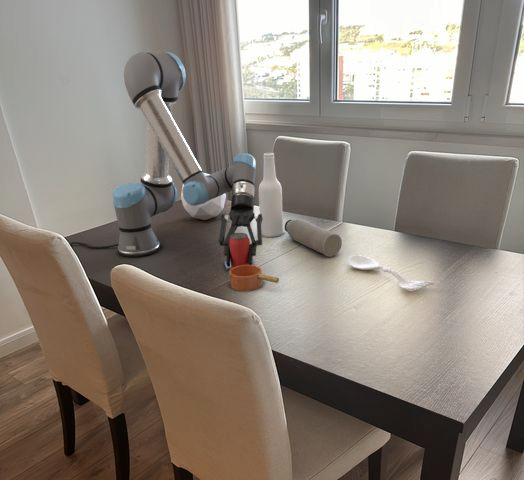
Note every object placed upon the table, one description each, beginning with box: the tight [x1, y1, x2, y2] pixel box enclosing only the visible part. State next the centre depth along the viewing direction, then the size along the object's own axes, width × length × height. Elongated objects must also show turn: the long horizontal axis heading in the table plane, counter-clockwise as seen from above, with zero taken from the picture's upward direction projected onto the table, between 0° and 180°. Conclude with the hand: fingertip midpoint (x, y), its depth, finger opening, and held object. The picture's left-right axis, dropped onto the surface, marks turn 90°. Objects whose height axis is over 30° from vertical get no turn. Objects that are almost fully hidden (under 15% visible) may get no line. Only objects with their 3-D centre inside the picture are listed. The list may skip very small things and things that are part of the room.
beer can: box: [229, 232, 251, 269], centre depth 157 cm, size 7×7×12 cm
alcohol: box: [258, 152, 284, 238], centre depth 186 cm, size 9×9×30 cm
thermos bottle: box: [284, 218, 343, 258], centre depth 178 cm, size 8×8×28 cm
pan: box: [228, 264, 263, 292], centre depth 151 cm, size 10×10×4 cm
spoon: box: [346, 254, 435, 292], centre depth 150 cm, size 9×32×4 cm, turn 30°
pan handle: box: [258, 273, 280, 284], centre depth 146 cm, size 7×2×2 cm, turn 56°
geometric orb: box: [180, 172, 227, 221], centre depth 212 cm, size 19×20×20 cm
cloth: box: [224, 260, 231, 271], centre depth 166 cm, size 6×9×1 cm
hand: (239, 264), depth 155 cm, fingers closed on beer can, 6 cm apart
